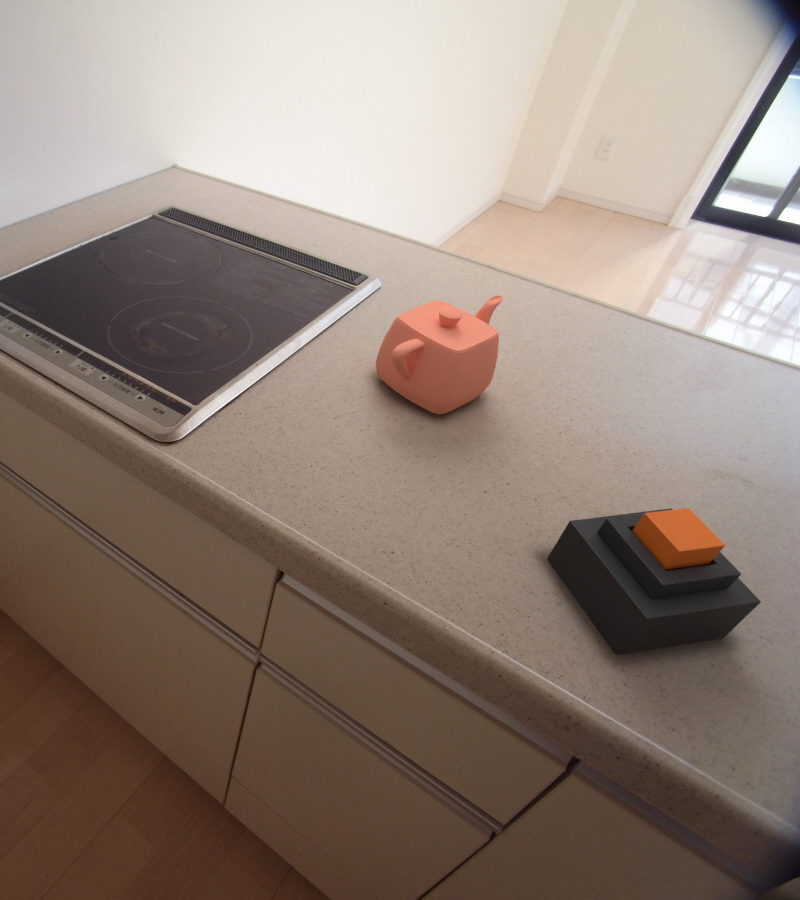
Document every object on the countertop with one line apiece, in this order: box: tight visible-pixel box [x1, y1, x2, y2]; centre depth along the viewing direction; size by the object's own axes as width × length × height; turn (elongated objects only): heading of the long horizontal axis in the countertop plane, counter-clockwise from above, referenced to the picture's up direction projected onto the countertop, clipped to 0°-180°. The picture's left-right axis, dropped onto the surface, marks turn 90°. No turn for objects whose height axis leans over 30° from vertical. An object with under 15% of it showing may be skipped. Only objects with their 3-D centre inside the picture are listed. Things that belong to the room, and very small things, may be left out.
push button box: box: [547, 507, 762, 656], centre depth 54 cm, size 10×10×7 cm
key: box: [632, 507, 726, 570], centre depth 51 cm, size 4×4×2 cm
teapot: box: [375, 295, 504, 415], centre depth 76 cm, size 12×18×10 cm, turn 125°
